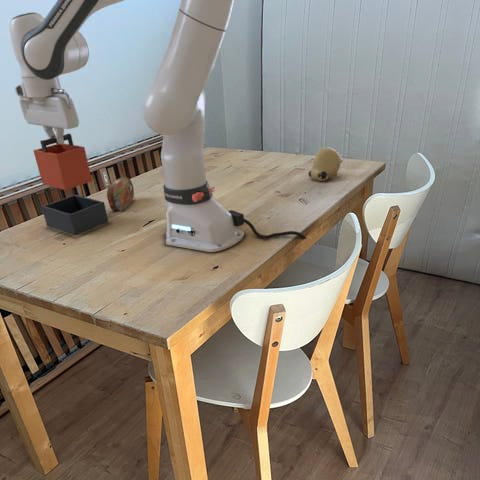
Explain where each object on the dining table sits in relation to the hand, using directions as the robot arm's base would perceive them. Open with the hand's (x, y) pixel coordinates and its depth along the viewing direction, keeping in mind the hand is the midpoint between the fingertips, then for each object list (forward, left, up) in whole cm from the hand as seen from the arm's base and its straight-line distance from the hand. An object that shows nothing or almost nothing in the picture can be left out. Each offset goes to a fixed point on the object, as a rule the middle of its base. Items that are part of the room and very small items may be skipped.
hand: (57, 143), depth 133 cm
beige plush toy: (-42, -75, -24) cm, 89 cm away
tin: (+1, -19, -24) cm, 31 cm away
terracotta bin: (0, 0, -11) cm, 11 cm away
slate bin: (0, 0, -24) cm, 24 cm away
